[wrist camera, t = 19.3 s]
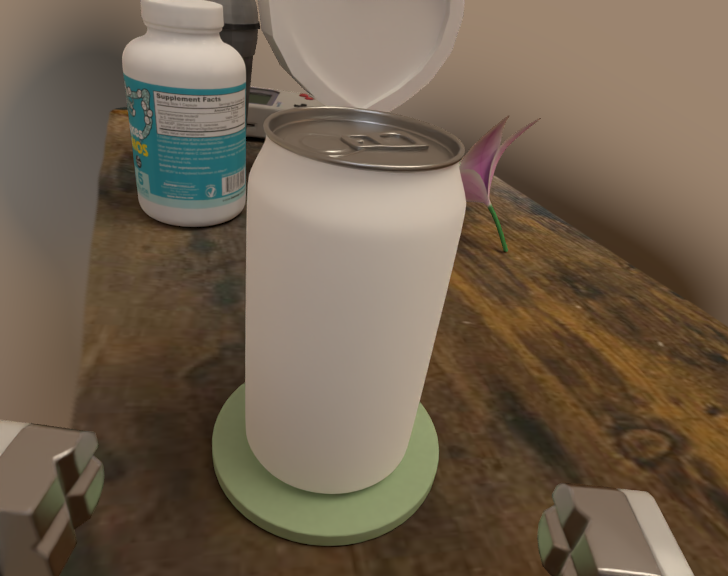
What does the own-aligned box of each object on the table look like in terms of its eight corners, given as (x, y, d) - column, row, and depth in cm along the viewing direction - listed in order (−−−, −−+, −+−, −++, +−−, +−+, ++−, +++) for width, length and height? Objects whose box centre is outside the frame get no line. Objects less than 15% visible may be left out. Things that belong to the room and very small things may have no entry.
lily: (501, 218, 46) (471, 112, 43) (610, 223, 36) (580, 84, 33) (390, 274, 43) (349, 163, 40) (475, 299, 32) (428, 150, 29)
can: (224, 399, 21) (216, 101, 15) (359, 362, 24) (399, 102, 18) (282, 530, 17) (306, 182, 11) (439, 465, 20) (531, 164, 14)
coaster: (477, 447, 22) (481, 437, 21) (326, 605, 16) (328, 595, 15) (327, 343, 26) (328, 334, 26) (165, 434, 20) (164, 423, 20)
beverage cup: (264, 156, 50) (269, -101, 39) (251, 183, 43) (253, -115, 33) (186, 147, 49) (171, -117, 38) (162, 173, 43) (136, -133, 32)
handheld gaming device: (344, 153, 54) (348, 115, 52) (200, 135, 52) (199, 96, 51) (345, 131, 61) (349, 97, 59) (220, 115, 60) (219, 80, 58)
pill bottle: (147, 187, 40) (126, -12, 33) (245, 191, 42) (245, 2, 35) (131, 230, 34) (101, -4, 27) (246, 233, 36) (247, 14, 29)
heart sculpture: (265, 196, 41) (272, -75, 32) (252, 174, 45) (254, -75, 36) (432, 190, 47) (480, -40, 38) (408, 171, 51) (445, -43, 42)
